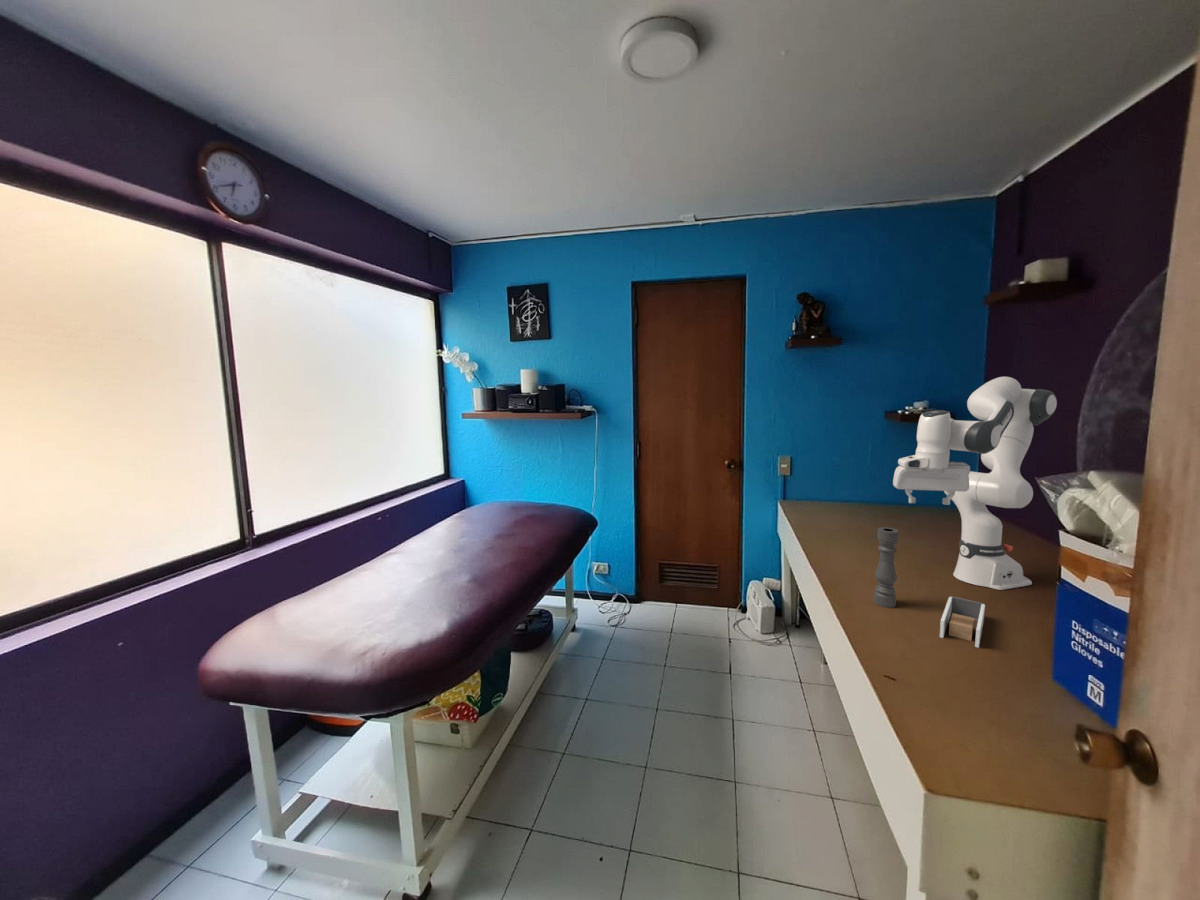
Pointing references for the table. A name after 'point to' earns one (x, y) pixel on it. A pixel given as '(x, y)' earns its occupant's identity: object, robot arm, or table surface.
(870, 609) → the table surface
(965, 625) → the light brown block
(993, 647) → the table surface
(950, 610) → the white channel
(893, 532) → the candle holder
